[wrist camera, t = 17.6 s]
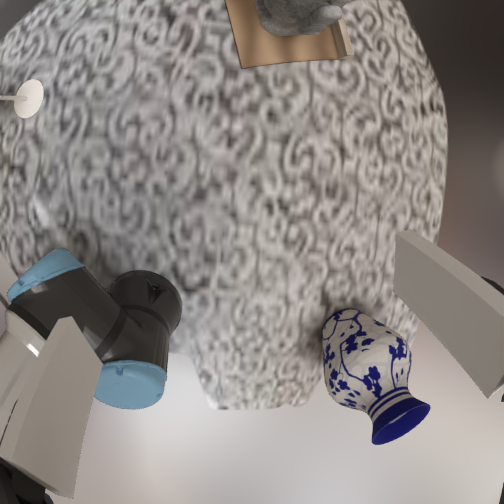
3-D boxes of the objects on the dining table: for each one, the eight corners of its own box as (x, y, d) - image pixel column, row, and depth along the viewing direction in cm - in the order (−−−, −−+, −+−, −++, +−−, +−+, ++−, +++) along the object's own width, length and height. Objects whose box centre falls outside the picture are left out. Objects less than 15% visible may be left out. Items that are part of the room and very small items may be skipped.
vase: (375, 281, 60) (456, 372, 33) (377, 337, 69) (434, 422, 42) (298, 312, 60) (352, 429, 33) (311, 365, 68) (353, 463, 42)
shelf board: (241, 68, 39) (245, 63, 35) (218, -24, 30) (219, -36, 26) (343, 59, 40) (354, 55, 36) (317, -28, 31) (325, -38, 27)
